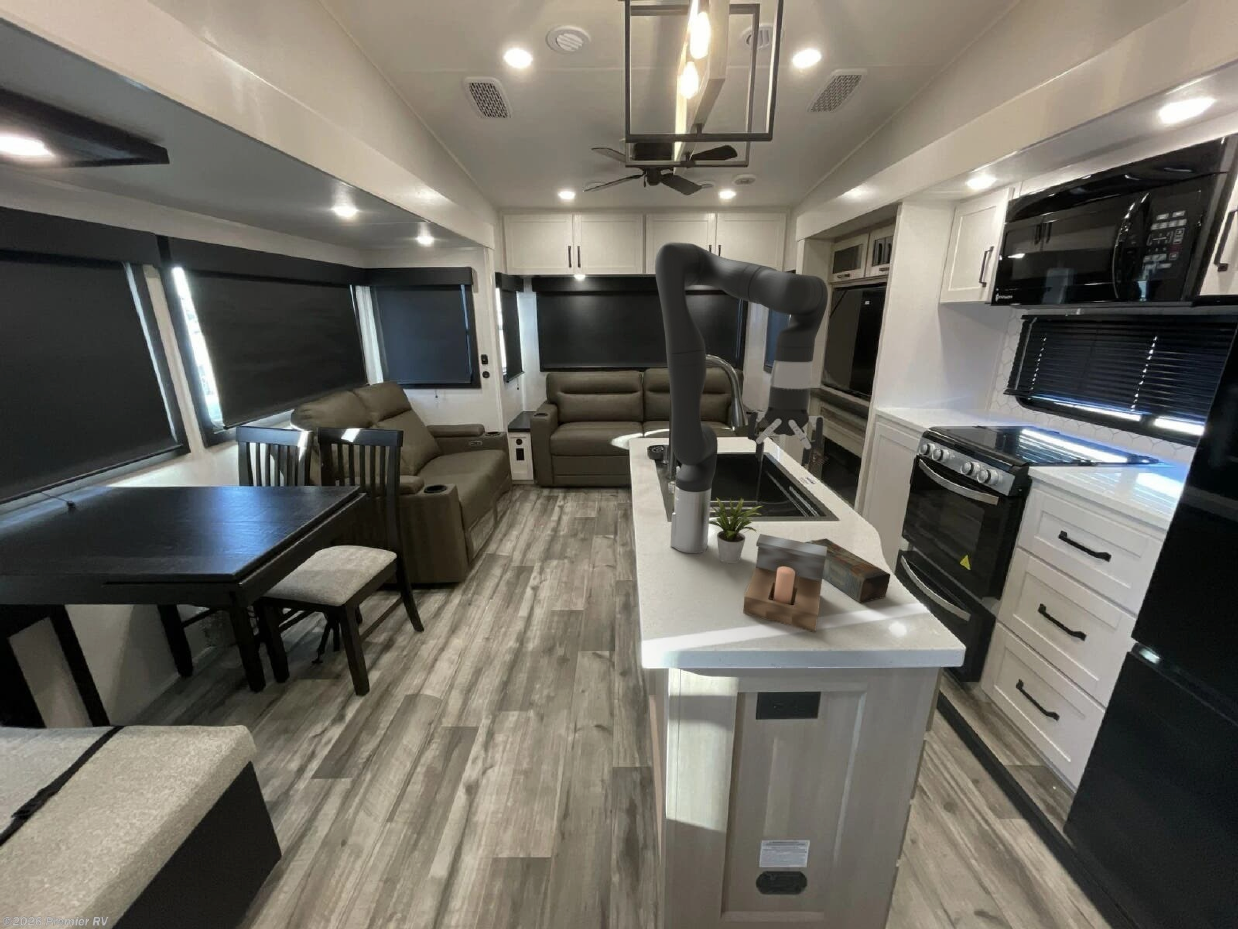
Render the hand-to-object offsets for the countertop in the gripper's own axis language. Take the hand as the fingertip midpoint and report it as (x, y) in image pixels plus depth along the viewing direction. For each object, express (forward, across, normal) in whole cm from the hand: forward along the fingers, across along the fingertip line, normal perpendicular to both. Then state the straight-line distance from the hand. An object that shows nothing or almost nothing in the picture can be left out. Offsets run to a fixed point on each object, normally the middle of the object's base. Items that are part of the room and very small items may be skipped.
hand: (781, 462), depth 94 cm
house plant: (+30, +10, -9) cm, 33 cm away
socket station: (+30, -4, +4) cm, 31 cm away
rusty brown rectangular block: (+31, -15, -12) cm, 36 cm away
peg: (+30, -4, +8) cm, 31 cm away
